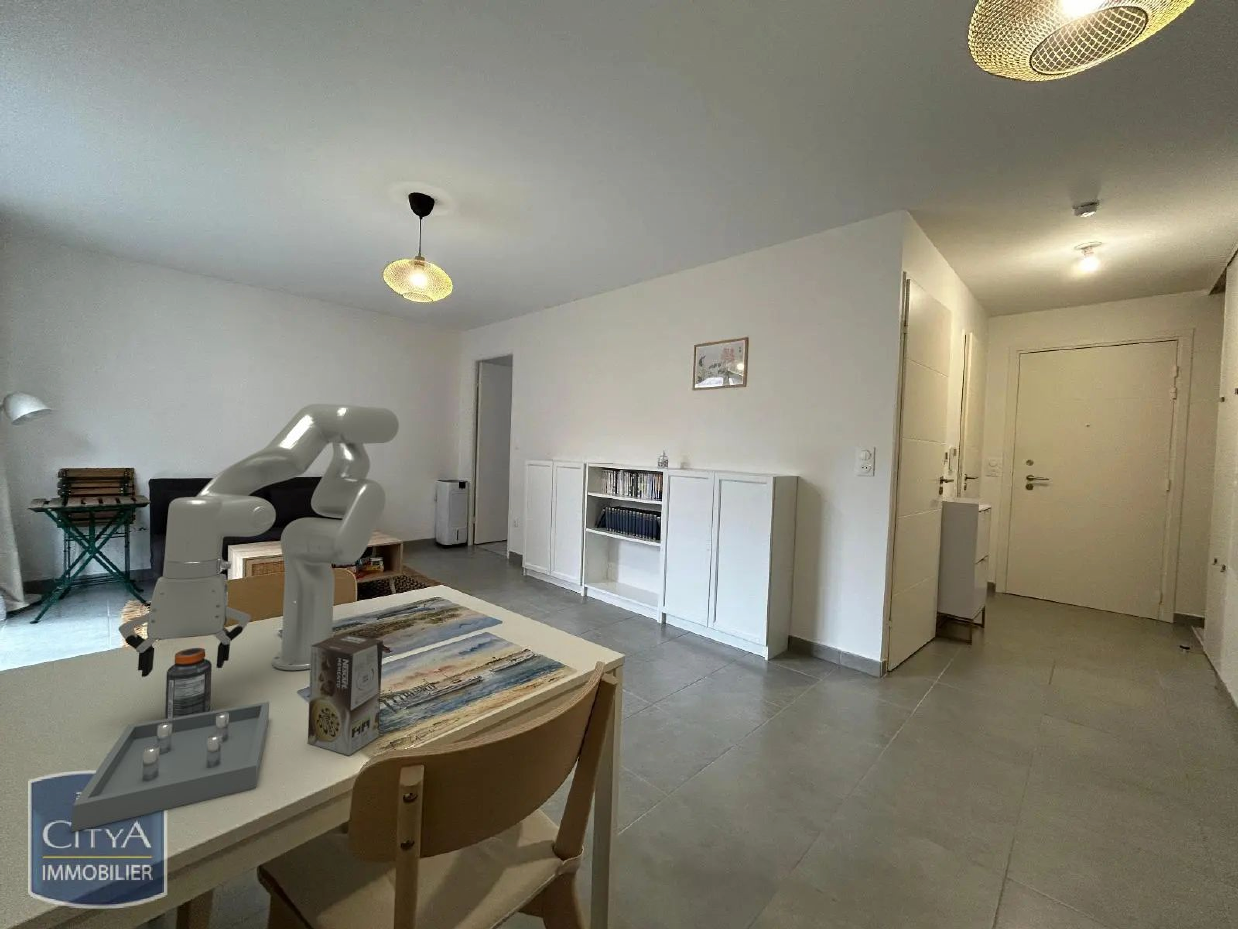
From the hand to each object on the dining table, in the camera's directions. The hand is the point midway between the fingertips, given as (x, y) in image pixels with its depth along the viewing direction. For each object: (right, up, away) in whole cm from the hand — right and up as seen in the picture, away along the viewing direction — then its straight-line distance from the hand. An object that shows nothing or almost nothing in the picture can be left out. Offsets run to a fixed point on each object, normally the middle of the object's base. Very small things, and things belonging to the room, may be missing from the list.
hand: (184, 669), depth 85 cm
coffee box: (+29, -10, -4) cm, 31 cm away
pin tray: (+11, -9, -12) cm, 19 cm away
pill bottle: (0, -9, +1) cm, 9 cm away
